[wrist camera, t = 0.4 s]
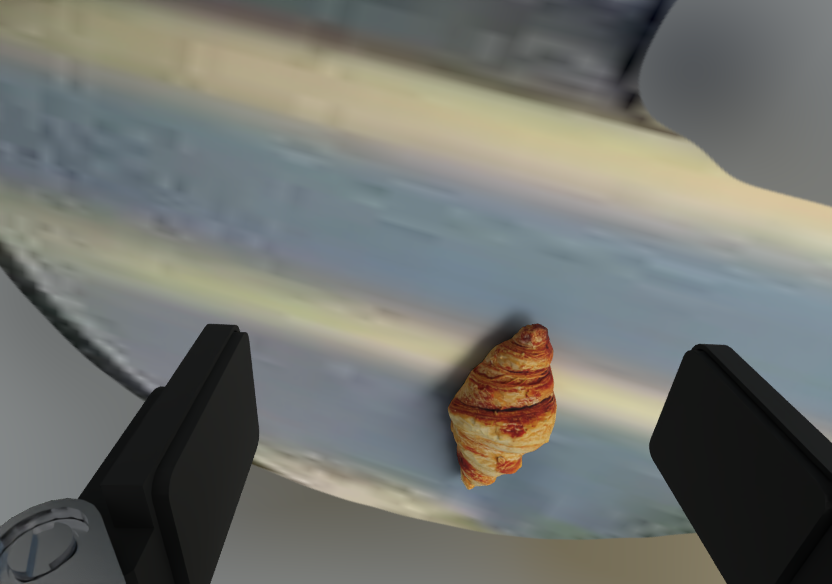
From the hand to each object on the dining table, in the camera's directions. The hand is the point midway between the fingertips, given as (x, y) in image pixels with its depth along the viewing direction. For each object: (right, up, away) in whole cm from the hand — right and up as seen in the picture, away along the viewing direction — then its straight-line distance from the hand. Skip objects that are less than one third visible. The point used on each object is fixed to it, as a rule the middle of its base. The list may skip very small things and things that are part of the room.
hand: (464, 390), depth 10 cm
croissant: (+7, -9, +38) cm, 40 cm away
